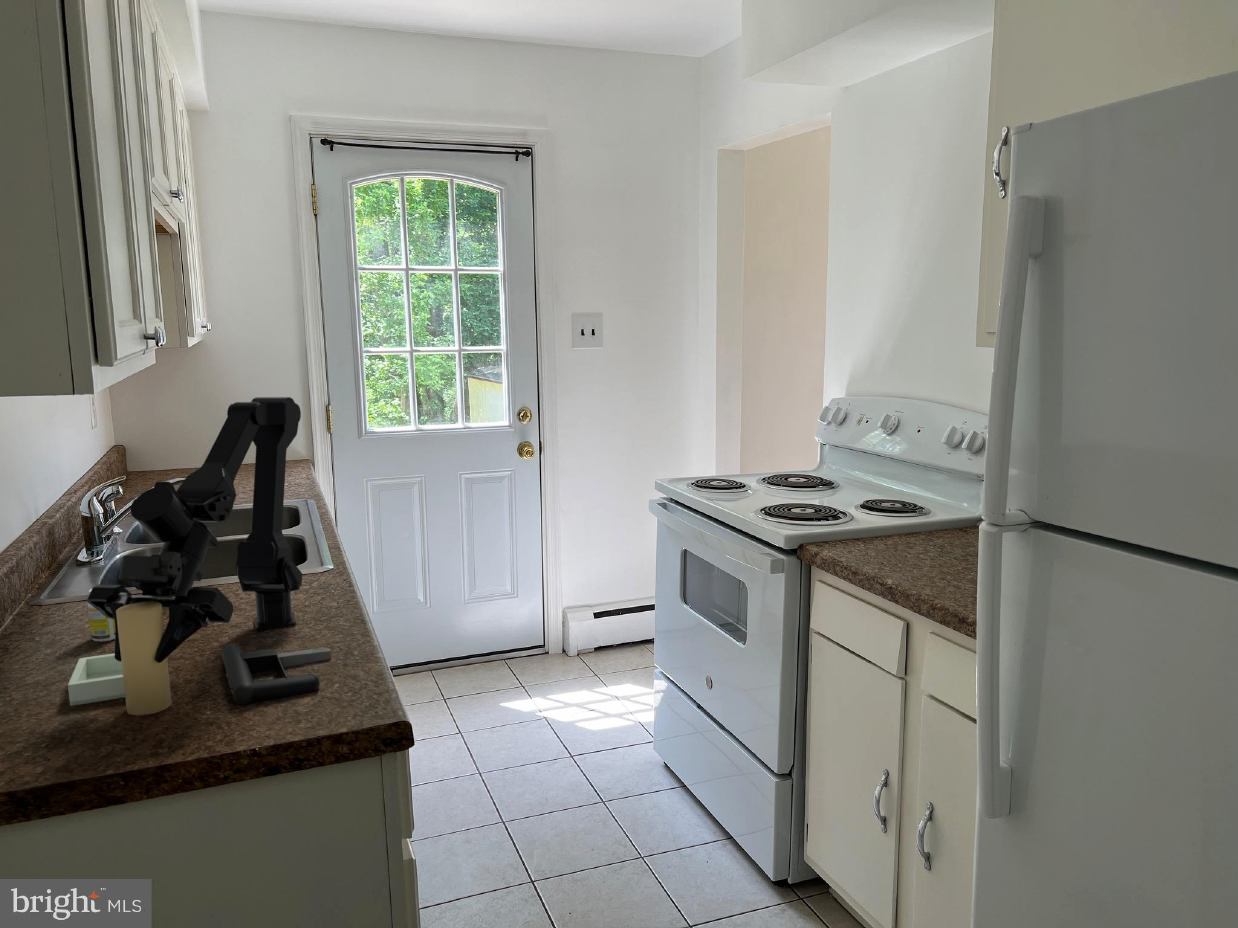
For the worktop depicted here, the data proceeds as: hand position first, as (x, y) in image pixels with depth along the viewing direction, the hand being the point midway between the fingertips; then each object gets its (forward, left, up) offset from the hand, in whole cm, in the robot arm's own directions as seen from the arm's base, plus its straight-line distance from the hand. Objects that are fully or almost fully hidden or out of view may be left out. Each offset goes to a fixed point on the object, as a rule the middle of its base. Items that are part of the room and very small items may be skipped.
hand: (137, 660), depth 120 cm
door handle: (-6, +18, -8) cm, 20 cm away
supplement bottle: (-36, -8, -7) cm, 37 cm away
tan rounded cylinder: (-1, +1, -7) cm, 7 cm away
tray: (-12, -4, -7) cm, 14 cm away
